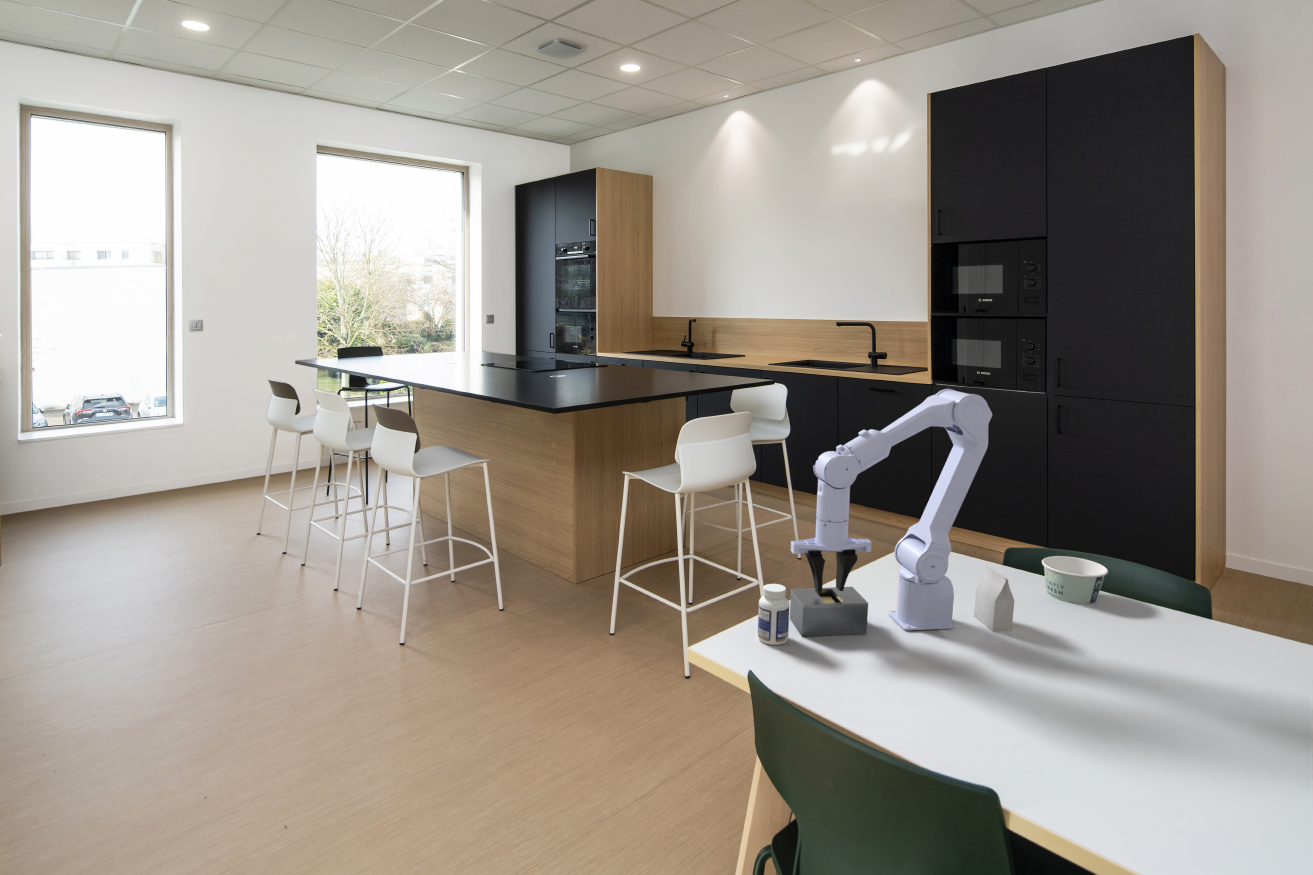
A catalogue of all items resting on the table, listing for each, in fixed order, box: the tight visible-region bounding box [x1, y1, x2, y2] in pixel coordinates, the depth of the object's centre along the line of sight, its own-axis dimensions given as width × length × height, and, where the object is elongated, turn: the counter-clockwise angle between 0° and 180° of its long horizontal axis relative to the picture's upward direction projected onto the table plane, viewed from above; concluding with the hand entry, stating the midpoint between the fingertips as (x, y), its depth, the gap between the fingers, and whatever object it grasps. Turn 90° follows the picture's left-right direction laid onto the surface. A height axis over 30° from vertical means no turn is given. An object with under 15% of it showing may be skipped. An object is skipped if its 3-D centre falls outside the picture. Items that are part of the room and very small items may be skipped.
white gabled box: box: [973, 566, 1015, 632], centre depth 142 cm, size 4×7×10 cm, turn 5°
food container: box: [1041, 555, 1109, 605], centre depth 156 cm, size 12×12×6 cm
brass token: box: [821, 597, 835, 603], centre depth 140 cm, size 2×4×5 cm, turn 5°
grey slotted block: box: [789, 586, 869, 638], centre depth 140 cm, size 12×8×6 cm, turn 96°
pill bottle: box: [757, 583, 790, 646], centre depth 134 cm, size 5×5×10 cm
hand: (828, 589), depth 140 cm, fingers open, 3 cm apart
